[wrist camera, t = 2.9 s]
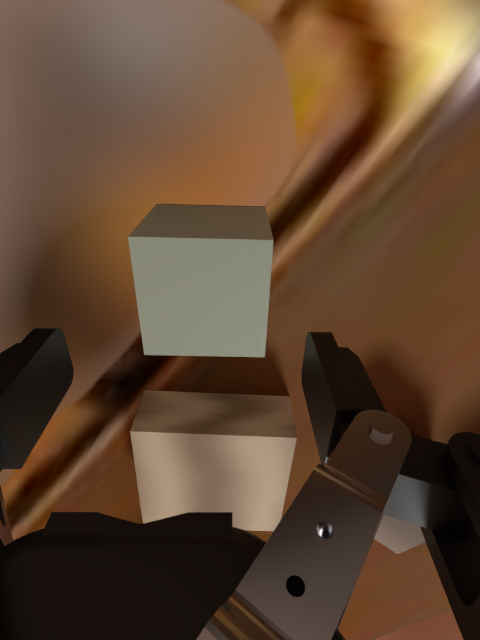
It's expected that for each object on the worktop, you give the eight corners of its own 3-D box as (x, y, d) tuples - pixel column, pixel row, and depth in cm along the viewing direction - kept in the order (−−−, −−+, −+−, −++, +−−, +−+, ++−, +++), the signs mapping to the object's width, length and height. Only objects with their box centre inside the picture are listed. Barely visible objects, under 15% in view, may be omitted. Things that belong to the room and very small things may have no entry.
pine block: (289, 392, 25) (296, 437, 22) (274, 482, 30) (278, 531, 27) (145, 386, 25) (130, 431, 21) (154, 478, 30) (143, 526, 26)
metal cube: (390, 415, 26) (424, 484, 21) (431, 450, 28) (470, 521, 23) (330, 452, 28) (349, 523, 23) (372, 483, 30) (398, 554, 25)
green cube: (264, 206, 18) (273, 240, 14) (259, 301, 21) (264, 357, 16) (157, 203, 18) (127, 236, 13) (165, 299, 21) (144, 354, 16)
